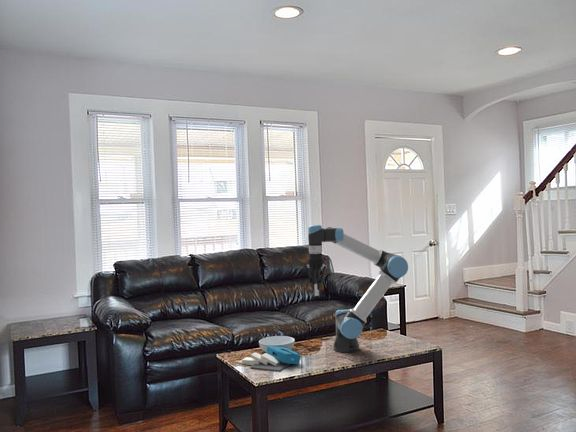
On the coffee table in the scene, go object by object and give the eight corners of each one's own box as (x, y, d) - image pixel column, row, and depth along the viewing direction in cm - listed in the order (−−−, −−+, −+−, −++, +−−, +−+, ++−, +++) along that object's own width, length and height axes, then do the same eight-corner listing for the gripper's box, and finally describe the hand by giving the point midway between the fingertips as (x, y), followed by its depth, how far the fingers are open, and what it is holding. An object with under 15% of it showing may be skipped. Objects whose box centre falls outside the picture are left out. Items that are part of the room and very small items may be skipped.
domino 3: (271, 359, 275) (255, 352, 279) (267, 362, 270) (250, 354, 274) (270, 362, 275) (254, 354, 279) (266, 364, 271) (250, 357, 274)
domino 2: (262, 358, 277) (246, 357, 281) (258, 361, 272) (241, 359, 276) (262, 361, 277) (246, 360, 281) (258, 364, 272) (241, 362, 276)
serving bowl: (274, 345, 313) (274, 334, 313) (302, 350, 300) (301, 338, 300) (251, 353, 296) (251, 341, 296) (279, 359, 283) (279, 346, 283)
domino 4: (281, 360, 273) (265, 352, 277) (276, 363, 268) (260, 355, 273) (280, 363, 273) (265, 355, 277) (275, 366, 268) (260, 358, 273)
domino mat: (292, 362, 276) (292, 361, 276) (279, 371, 261) (279, 370, 261) (263, 359, 283) (263, 358, 283) (250, 368, 268) (250, 366, 268)
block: (302, 364, 271) (284, 356, 289) (303, 355, 271) (286, 347, 289) (282, 362, 265) (265, 354, 283) (283, 353, 266) (267, 345, 284)
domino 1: (259, 361, 278) (243, 359, 282) (254, 363, 273) (238, 361, 278) (259, 364, 278) (243, 362, 282) (254, 366, 273) (238, 364, 278)
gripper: (302, 253, 283) (303, 296, 284) (324, 253, 278) (325, 297, 278) (307, 252, 290) (308, 293, 290) (328, 252, 285) (330, 294, 285)
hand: (316, 295), depth 284 cm, fingers closed
